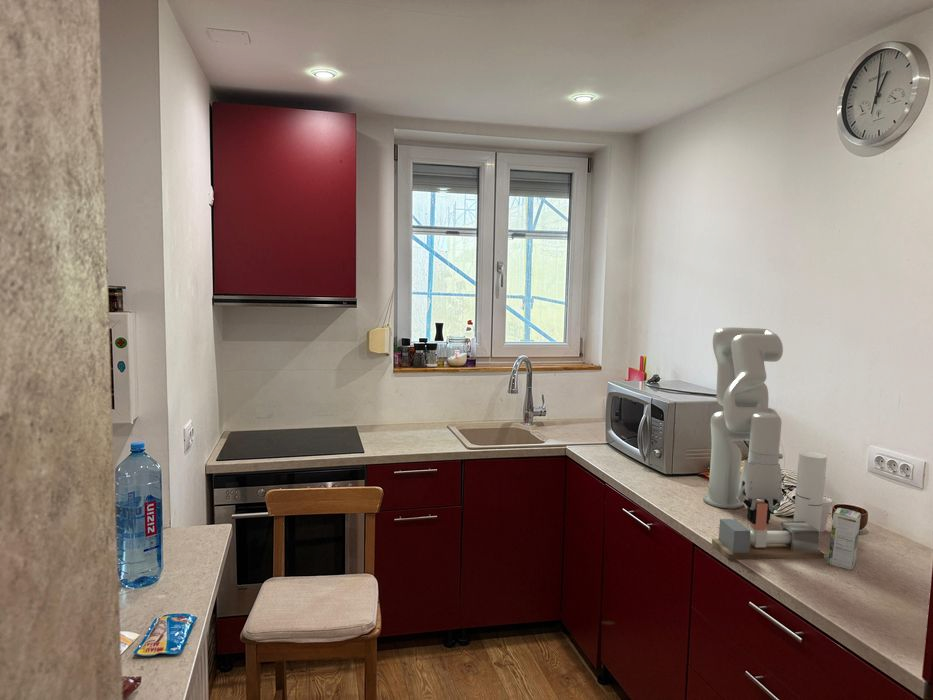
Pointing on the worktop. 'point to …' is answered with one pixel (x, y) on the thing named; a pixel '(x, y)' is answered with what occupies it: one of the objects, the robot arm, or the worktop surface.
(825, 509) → the smoothie
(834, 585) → the worktop surface
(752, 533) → the slide bolt
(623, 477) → the worktop surface
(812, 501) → the cylindrical container
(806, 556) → the roller board
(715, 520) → the worktop surface
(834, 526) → the syrup box
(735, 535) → the socket
